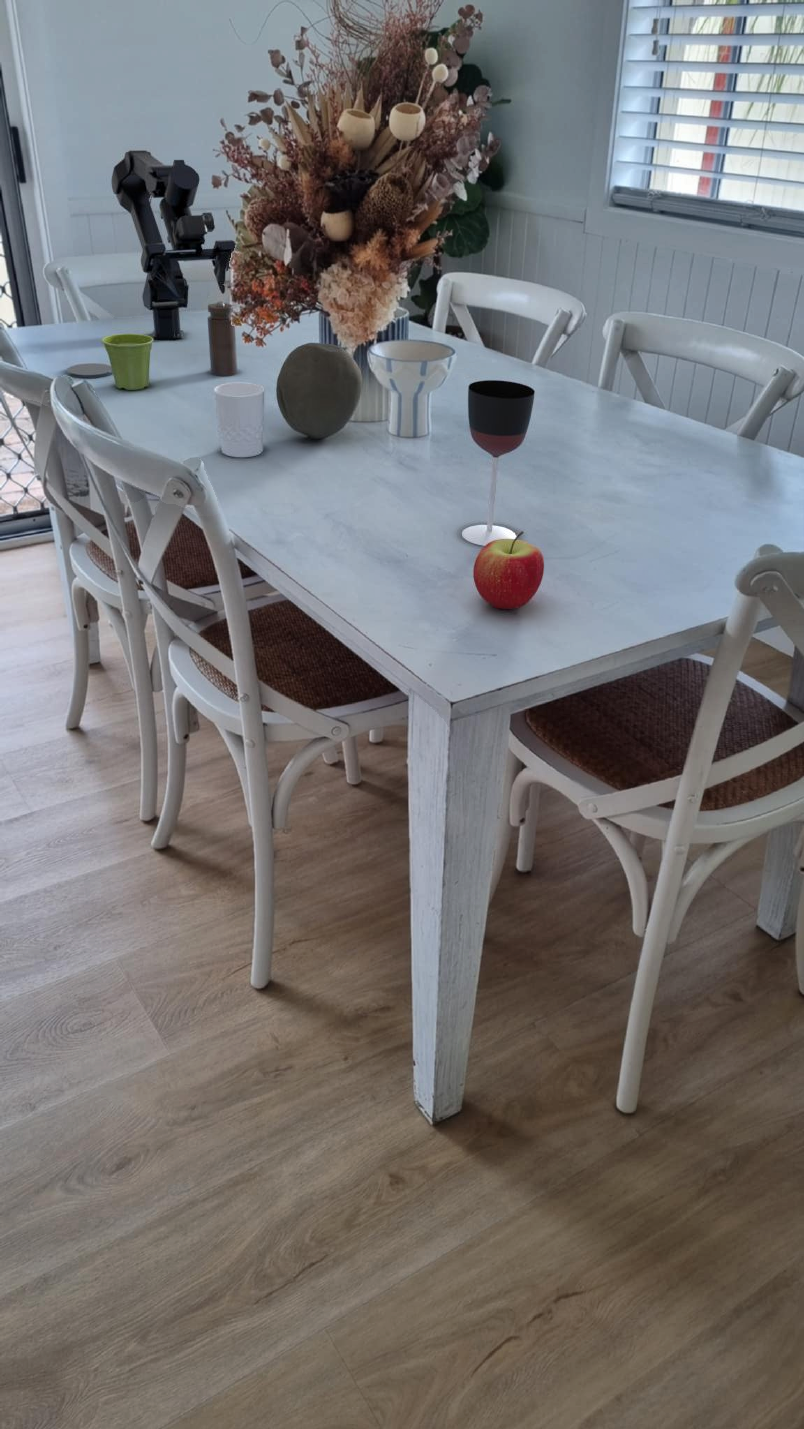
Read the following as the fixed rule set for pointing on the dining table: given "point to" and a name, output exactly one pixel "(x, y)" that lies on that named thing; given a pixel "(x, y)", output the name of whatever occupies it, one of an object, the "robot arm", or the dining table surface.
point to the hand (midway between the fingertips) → (201, 294)
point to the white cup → (240, 418)
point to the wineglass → (497, 437)
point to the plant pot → (129, 359)
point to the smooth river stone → (318, 389)
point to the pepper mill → (222, 340)
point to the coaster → (89, 370)
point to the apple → (508, 572)
